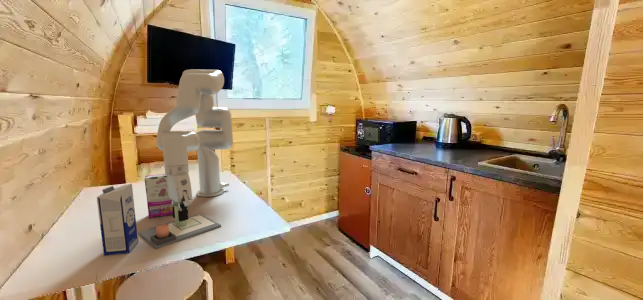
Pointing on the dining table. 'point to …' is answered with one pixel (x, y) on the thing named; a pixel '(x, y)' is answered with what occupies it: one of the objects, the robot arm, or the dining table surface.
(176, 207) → the green cylinder
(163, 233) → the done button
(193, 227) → the drawing board
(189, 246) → the dining table surface
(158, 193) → the candy bar box
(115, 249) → the milk carton
